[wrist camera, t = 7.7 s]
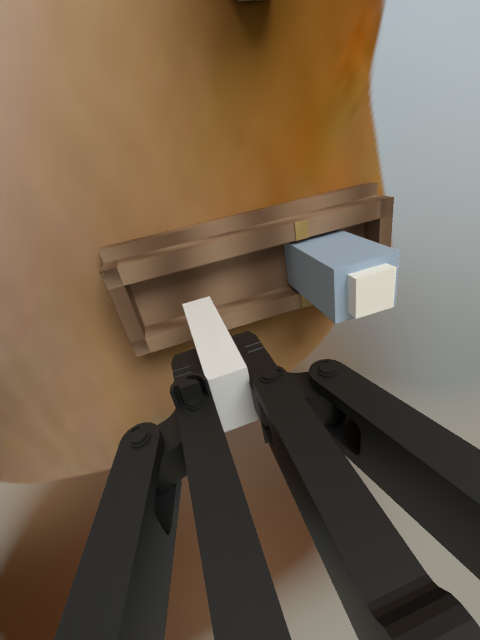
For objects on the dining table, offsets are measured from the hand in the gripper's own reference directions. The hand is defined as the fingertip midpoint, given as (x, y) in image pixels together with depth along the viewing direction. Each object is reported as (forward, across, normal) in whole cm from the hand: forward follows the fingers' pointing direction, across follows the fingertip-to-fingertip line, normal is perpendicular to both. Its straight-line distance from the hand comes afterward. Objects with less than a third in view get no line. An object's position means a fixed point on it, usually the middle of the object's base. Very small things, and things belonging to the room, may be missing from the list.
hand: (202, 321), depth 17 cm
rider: (+6, +10, 0) cm, 11 cm away
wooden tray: (+7, +5, 0) cm, 9 cm away
